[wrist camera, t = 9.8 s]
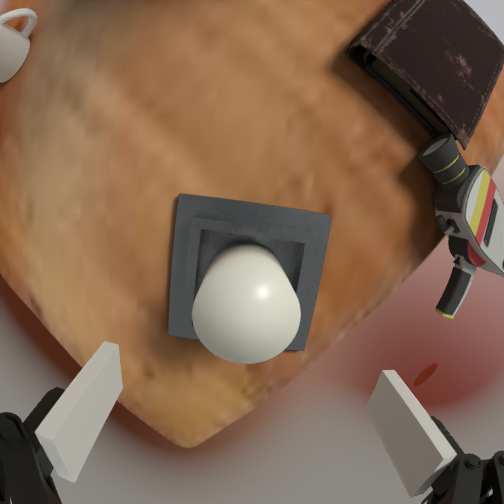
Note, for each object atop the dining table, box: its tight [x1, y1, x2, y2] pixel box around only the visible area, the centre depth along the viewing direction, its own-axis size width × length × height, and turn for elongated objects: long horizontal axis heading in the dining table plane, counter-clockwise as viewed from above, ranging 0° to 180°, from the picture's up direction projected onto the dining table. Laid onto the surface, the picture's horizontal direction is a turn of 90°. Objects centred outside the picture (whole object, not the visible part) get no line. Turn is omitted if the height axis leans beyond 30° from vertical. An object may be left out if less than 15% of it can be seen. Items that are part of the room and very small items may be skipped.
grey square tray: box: [168, 194, 332, 351], centre depth 30 cm, size 16×16×4 cm
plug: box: [192, 242, 301, 364], centre depth 26 cm, size 8×8×10 cm
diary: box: [346, 0, 504, 150], centre depth 24 cm, size 19×25×5 cm
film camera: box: [417, 133, 504, 319], centre depth 28 cm, size 7×19×15 cm
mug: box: [0, 8, 37, 83], centre depth 19 cm, size 8×10×12 cm
